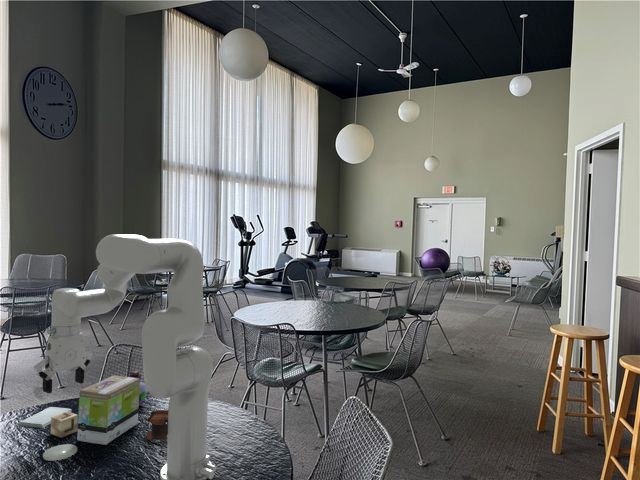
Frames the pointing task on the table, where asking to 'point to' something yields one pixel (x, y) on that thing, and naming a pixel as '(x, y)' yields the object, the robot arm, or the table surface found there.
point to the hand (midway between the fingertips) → (63, 387)
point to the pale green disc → (60, 452)
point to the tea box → (108, 409)
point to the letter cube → (64, 424)
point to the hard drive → (43, 417)
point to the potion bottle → (142, 386)
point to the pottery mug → (158, 425)
